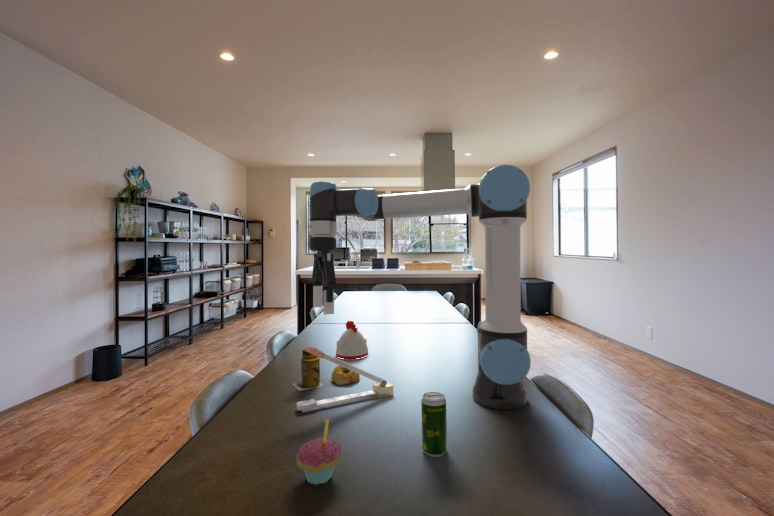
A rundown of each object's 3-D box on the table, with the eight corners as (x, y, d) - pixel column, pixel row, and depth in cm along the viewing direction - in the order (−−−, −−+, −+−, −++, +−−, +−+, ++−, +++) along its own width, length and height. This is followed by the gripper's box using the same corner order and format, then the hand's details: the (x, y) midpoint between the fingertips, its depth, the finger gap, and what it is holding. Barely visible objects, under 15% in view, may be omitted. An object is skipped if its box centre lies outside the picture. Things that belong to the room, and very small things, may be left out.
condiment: (324, 385, 118) (323, 349, 118) (299, 391, 113) (298, 354, 113) (315, 379, 124) (315, 345, 124) (292, 384, 119) (291, 349, 119)
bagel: (326, 385, 118) (325, 371, 118) (338, 374, 129) (338, 361, 129) (354, 387, 116) (353, 373, 116) (364, 376, 127) (363, 363, 127)
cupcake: (343, 464, 73) (342, 406, 73) (339, 492, 64) (337, 426, 64) (301, 466, 72) (300, 407, 72) (291, 493, 64) (290, 427, 64)
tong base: (393, 395, 108) (393, 385, 108) (299, 414, 96) (299, 403, 96) (387, 390, 112) (387, 381, 112) (296, 408, 100) (296, 397, 100)
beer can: (443, 443, 80) (442, 390, 80) (450, 457, 74) (449, 400, 74) (420, 445, 79) (419, 392, 79) (424, 459, 74) (423, 402, 74)
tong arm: (385, 386, 108) (387, 381, 108) (307, 352, 98) (310, 347, 98) (381, 383, 111) (383, 378, 111) (305, 349, 101) (307, 344, 101)
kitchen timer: (356, 349, 163) (355, 317, 163) (374, 355, 152) (373, 321, 152) (330, 355, 154) (329, 321, 154) (347, 362, 144) (346, 325, 143)
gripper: (302, 238, 111) (302, 305, 112) (319, 234, 89) (319, 318, 89) (325, 238, 114) (325, 304, 115) (348, 234, 91) (348, 316, 92)
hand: (322, 310), depth 102 cm, fingers open, 13 cm apart
